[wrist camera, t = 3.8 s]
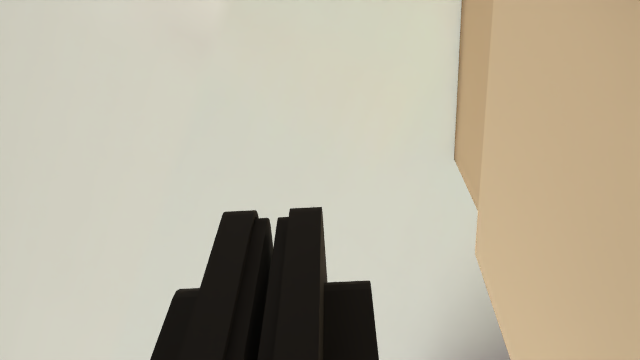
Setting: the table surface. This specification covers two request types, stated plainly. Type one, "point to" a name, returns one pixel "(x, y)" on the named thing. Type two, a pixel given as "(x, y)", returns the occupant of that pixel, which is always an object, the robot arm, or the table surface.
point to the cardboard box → (472, 90)
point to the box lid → (563, 179)
